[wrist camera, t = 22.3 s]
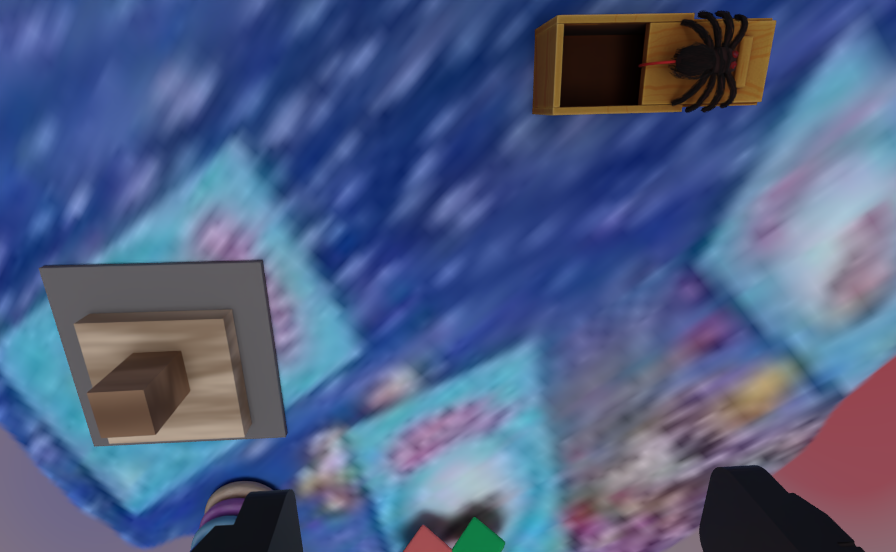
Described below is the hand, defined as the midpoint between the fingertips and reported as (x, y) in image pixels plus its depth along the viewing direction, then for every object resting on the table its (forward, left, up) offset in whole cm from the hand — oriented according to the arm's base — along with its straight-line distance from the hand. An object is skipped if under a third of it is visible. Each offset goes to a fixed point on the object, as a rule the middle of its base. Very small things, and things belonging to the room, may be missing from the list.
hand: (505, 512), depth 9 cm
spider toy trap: (-10, +16, -33) cm, 38 cm away
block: (+14, -24, -30) cm, 41 cm away
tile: (+9, -24, -32) cm, 41 cm away
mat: (+14, -24, -33) cm, 43 cm away
